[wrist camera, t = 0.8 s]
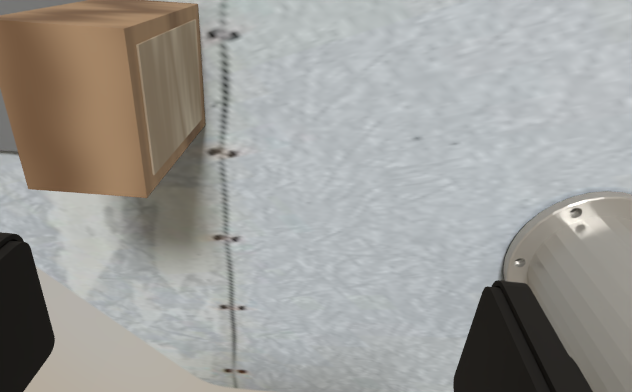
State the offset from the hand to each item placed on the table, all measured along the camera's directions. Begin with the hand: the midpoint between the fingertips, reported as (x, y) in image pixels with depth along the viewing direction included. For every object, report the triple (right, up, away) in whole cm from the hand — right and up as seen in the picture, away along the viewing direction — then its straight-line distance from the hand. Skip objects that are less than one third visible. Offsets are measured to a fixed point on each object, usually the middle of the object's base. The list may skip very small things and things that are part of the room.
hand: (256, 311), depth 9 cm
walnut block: (-9, +11, +21) cm, 25 cm away
